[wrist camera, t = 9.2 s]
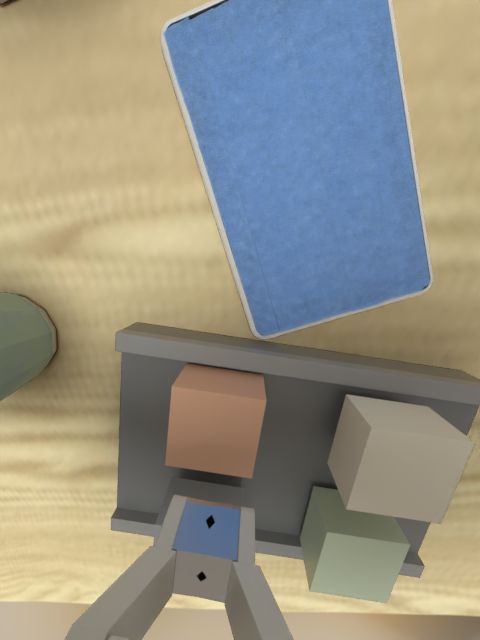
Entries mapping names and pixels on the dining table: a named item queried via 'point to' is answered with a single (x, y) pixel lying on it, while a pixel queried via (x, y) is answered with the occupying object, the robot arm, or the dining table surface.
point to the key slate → (198, 496)
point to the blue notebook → (303, 154)
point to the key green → (350, 549)
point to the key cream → (396, 459)
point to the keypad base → (265, 424)
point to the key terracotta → (215, 420)
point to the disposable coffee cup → (23, 341)
